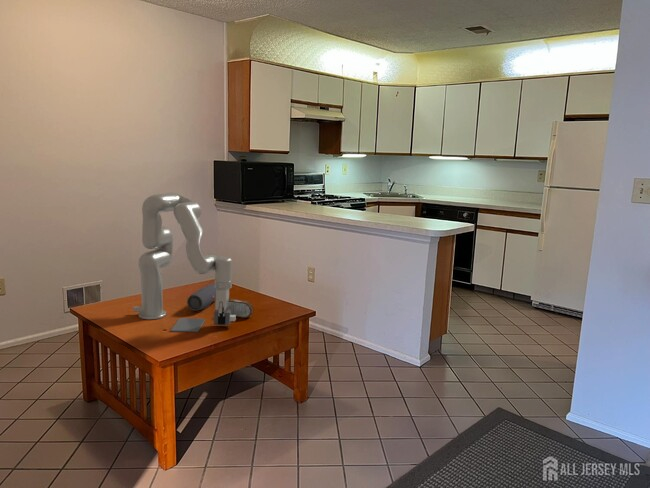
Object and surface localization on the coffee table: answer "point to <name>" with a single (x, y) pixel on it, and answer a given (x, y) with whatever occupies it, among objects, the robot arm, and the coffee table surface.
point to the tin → (240, 308)
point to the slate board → (187, 325)
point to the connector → (227, 317)
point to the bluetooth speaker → (202, 298)
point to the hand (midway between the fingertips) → (222, 322)
